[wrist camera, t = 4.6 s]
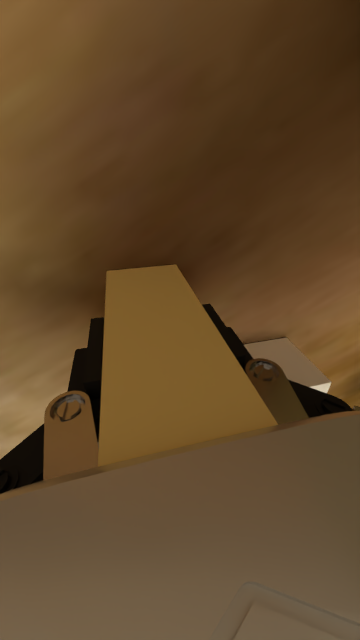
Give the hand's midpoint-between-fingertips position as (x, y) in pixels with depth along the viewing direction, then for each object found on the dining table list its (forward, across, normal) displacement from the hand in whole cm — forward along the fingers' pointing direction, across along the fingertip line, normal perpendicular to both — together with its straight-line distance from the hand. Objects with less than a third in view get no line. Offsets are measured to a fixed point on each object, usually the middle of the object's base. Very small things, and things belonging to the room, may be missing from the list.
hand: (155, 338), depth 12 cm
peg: (+4, 0, 0) cm, 4 cm away
